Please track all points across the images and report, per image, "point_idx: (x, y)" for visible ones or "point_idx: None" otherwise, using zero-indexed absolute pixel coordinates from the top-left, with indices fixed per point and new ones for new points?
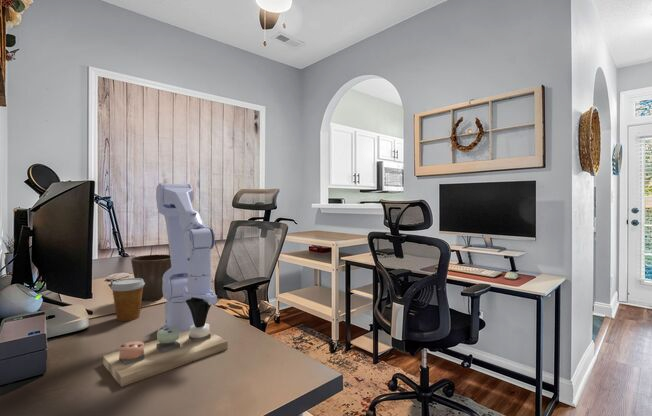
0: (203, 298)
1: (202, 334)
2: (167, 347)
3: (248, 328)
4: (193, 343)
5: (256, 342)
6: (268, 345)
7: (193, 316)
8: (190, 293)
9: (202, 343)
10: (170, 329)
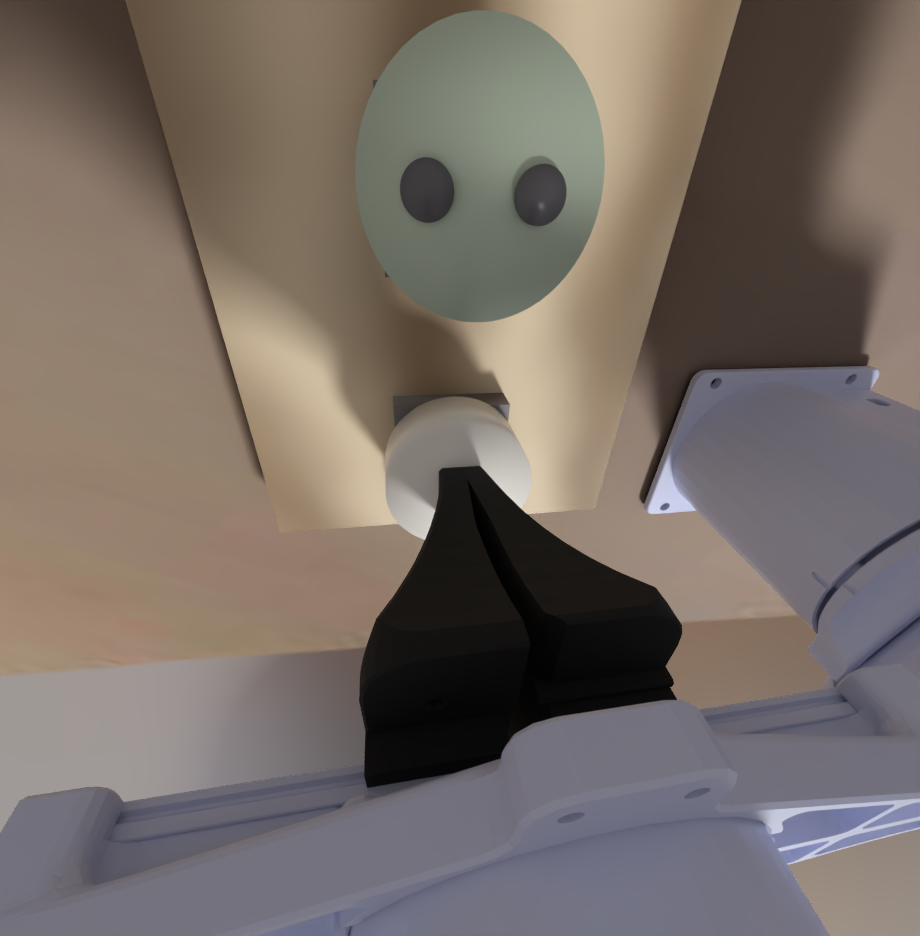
0: (142, 882)
1: (385, 460)
2: None
3: None
4: (392, 379)
5: (276, 608)
6: (207, 627)
7: (490, 512)
8: (539, 860)
9: (348, 421)
10: (503, 238)
